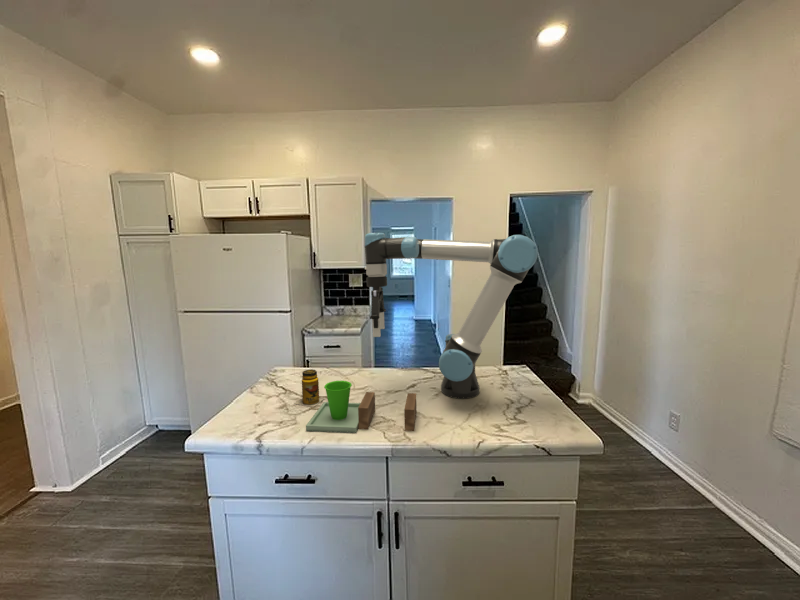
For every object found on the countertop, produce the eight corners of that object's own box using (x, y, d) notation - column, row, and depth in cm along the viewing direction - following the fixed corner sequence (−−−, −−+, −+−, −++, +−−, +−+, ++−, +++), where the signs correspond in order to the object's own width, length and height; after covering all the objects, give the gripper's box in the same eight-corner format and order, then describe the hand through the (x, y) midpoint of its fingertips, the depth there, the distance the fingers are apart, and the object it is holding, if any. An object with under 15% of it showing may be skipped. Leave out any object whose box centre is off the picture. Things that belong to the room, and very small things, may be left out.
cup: (347, 423, 114) (346, 390, 112) (321, 421, 115) (319, 389, 114) (356, 411, 122) (355, 381, 121) (331, 410, 124) (330, 379, 123)
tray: (367, 408, 127) (367, 403, 127) (356, 433, 109) (356, 427, 109) (324, 406, 128) (323, 401, 128) (306, 431, 111) (305, 425, 110)
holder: (416, 412, 122) (416, 393, 122) (414, 431, 110) (414, 409, 109) (366, 411, 124) (366, 392, 123) (358, 429, 111) (358, 408, 111)
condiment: (314, 407, 128) (312, 375, 127) (293, 404, 131) (292, 373, 129) (324, 399, 135) (322, 368, 134) (304, 396, 138) (303, 367, 136)
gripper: (371, 274, 142) (373, 326, 145) (360, 278, 118) (363, 340, 120) (389, 273, 142) (391, 325, 145) (383, 277, 117) (385, 340, 120)
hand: (379, 332), depth 132 cm, fingers open, 13 cm apart
